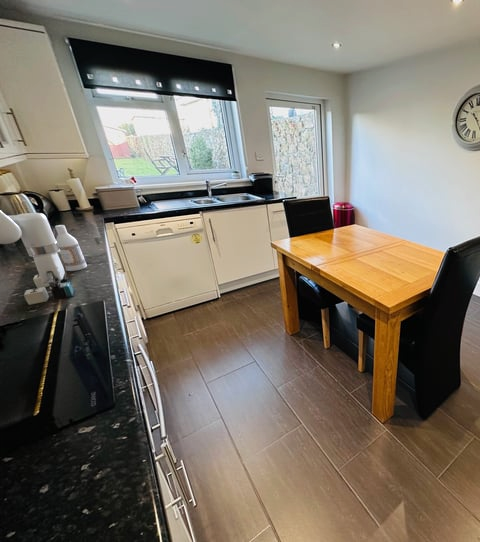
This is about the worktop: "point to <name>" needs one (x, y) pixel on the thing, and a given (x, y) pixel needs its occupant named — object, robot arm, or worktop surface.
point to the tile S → (67, 288)
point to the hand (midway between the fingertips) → (63, 293)
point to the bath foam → (69, 250)
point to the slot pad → (66, 297)
